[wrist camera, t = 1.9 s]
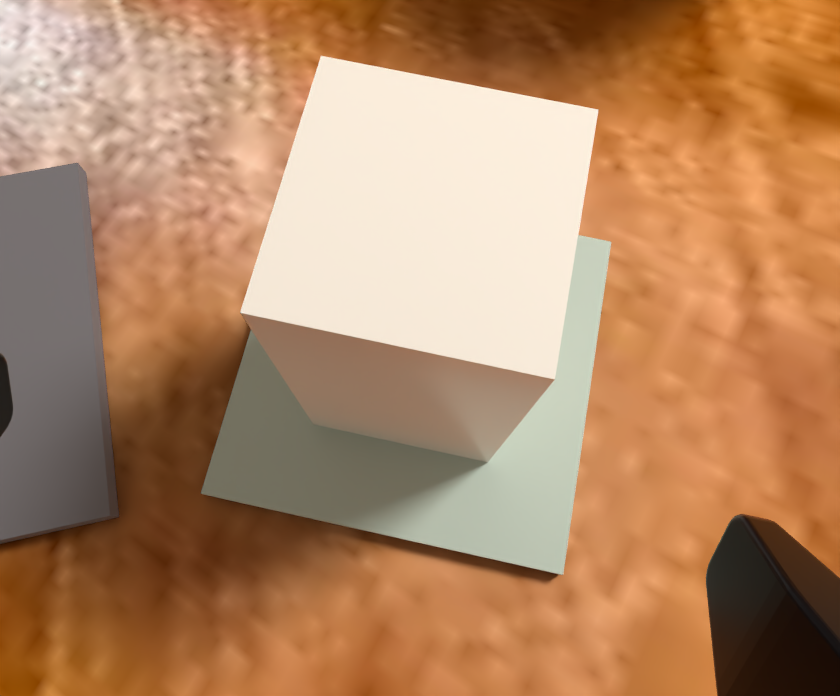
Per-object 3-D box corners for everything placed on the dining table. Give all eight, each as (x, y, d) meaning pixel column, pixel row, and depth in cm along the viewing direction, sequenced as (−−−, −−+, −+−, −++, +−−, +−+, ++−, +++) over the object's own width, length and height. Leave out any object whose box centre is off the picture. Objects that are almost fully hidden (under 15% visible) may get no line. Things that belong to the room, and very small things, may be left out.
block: (487, 462, 19) (554, 379, 11) (313, 424, 19) (239, 312, 11) (518, 298, 21) (598, 109, 12) (355, 265, 21) (321, 56, 12)
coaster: (559, 574, 19) (598, 577, 15) (205, 494, 19) (156, 478, 15) (607, 247, 22) (649, 181, 18) (299, 185, 22) (278, 108, 18)
